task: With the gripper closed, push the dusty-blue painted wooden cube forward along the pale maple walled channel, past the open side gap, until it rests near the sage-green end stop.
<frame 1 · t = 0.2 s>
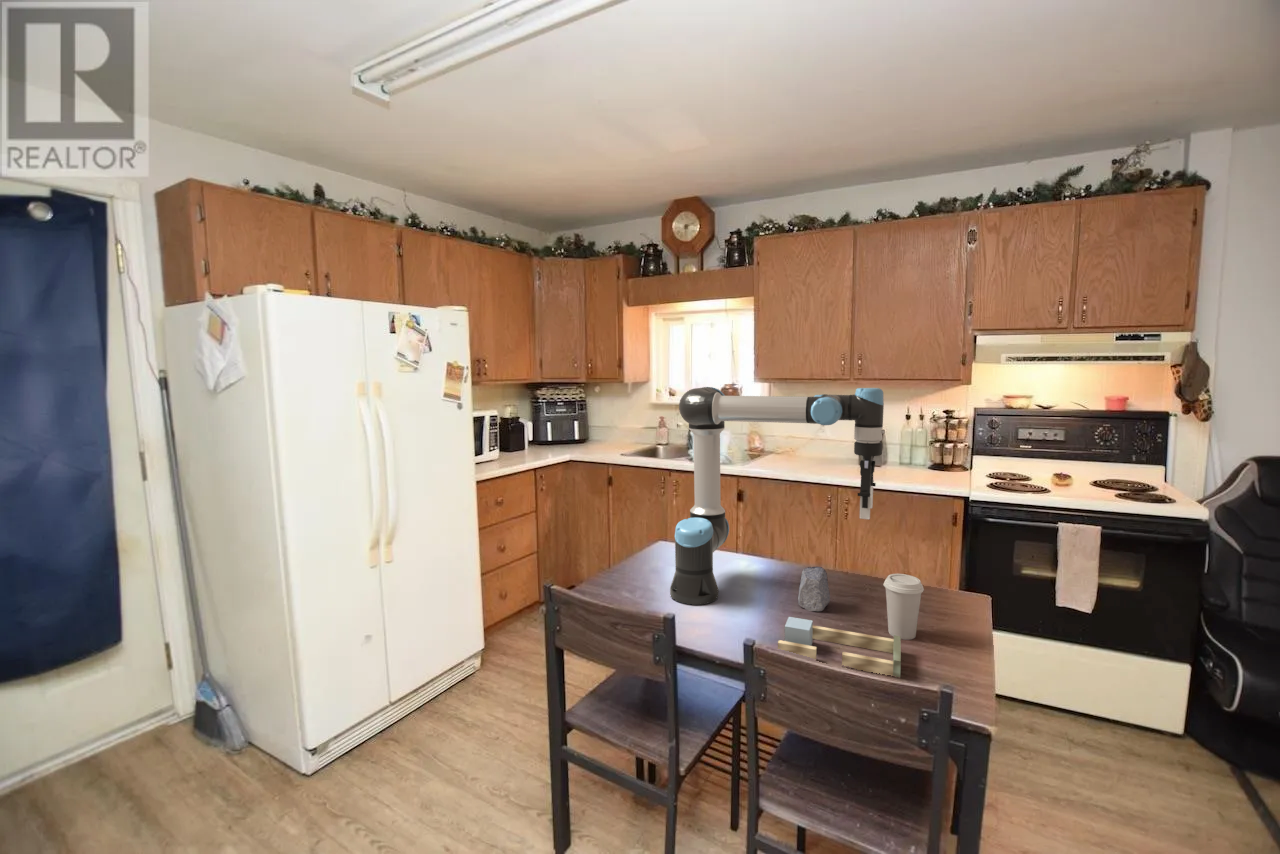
hand: (866, 513, 164), 28 cm above the table, fingers open, 13 cm apart
coffee cup: (901, 634, 148), on the table
stone: (812, 606, 166), on the table
block: (798, 645, 142), on the table
channel: (835, 652, 139), on the table
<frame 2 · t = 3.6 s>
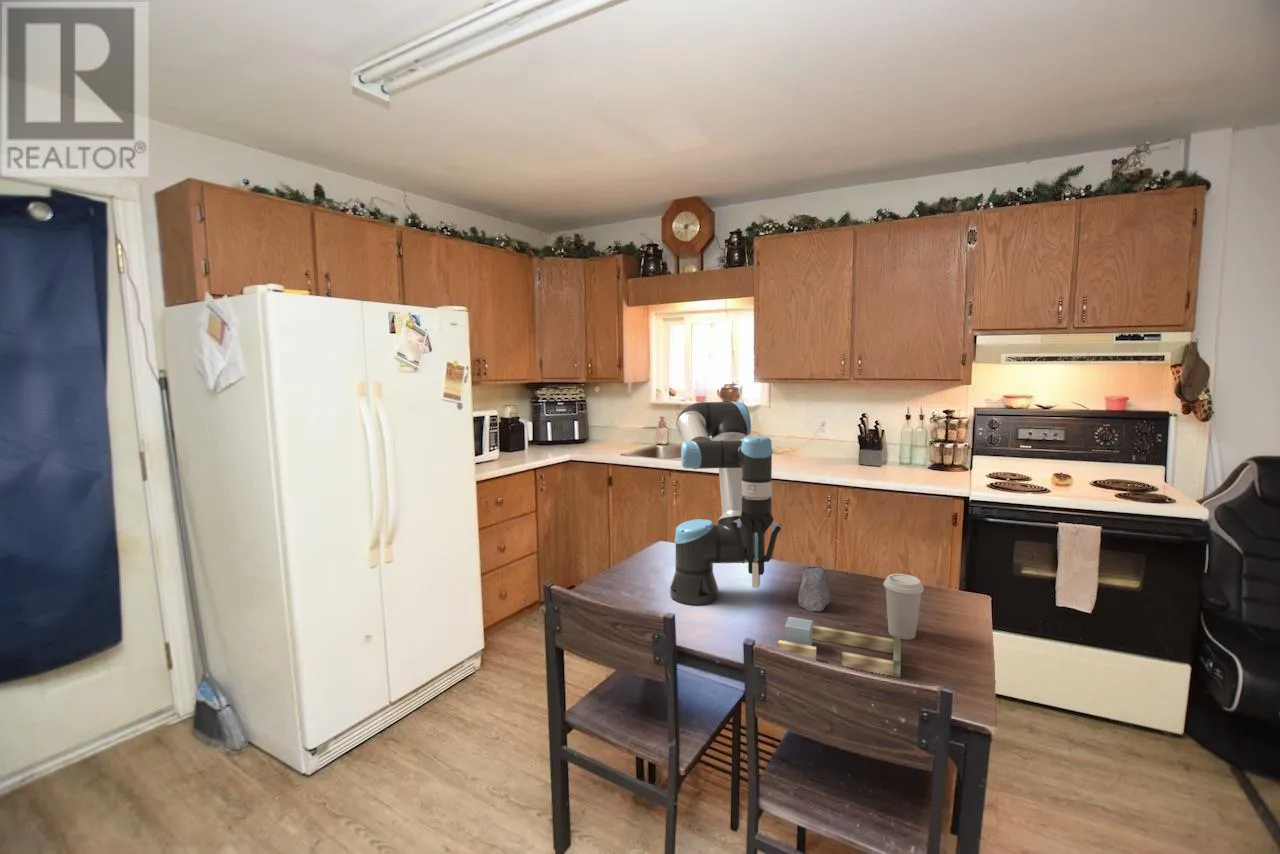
hand: (756, 585, 145), 14 cm above the table, fingers closed
nothing on the table moved.
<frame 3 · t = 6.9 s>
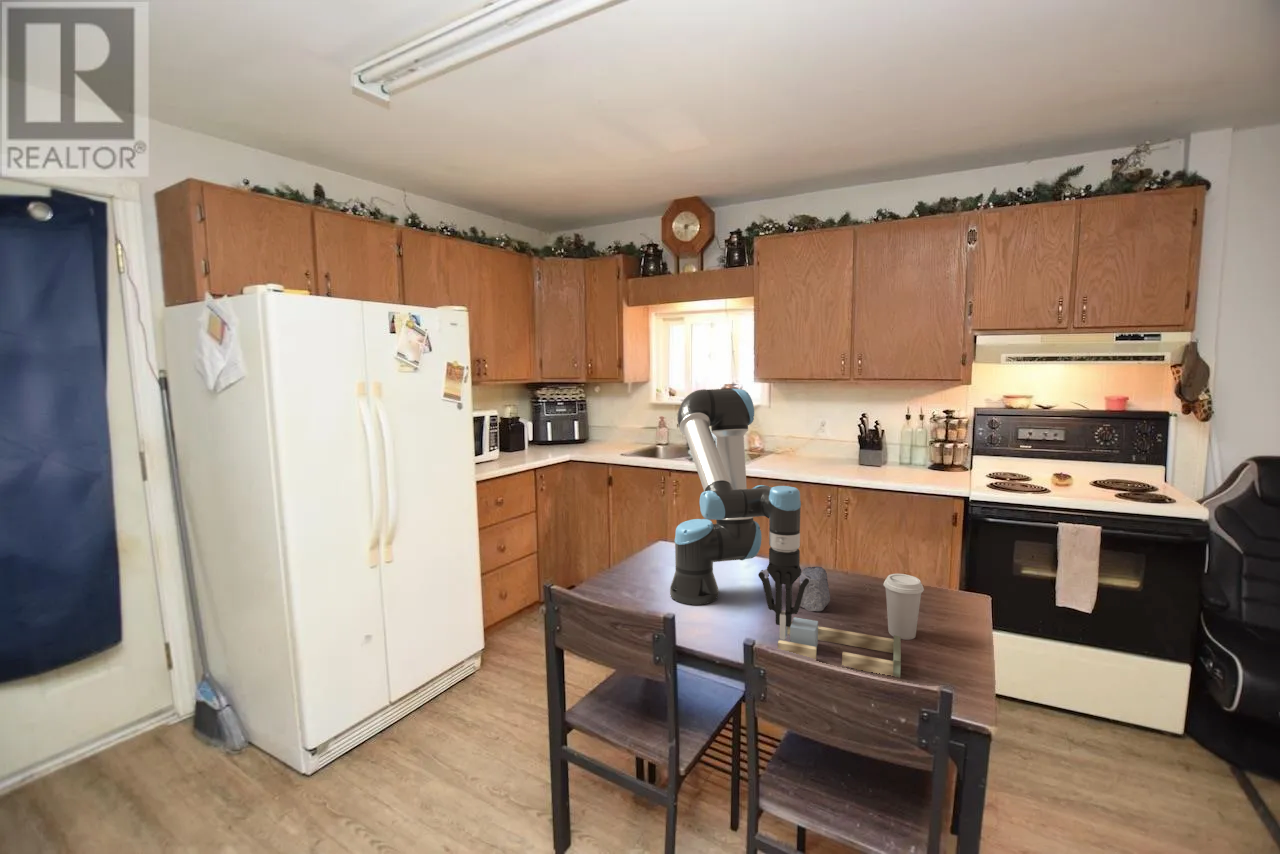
hand: (783, 637, 143), 2 cm above the table, fingers closed
block: (803, 646, 142), on the table, touching gripper
everything else where it was.
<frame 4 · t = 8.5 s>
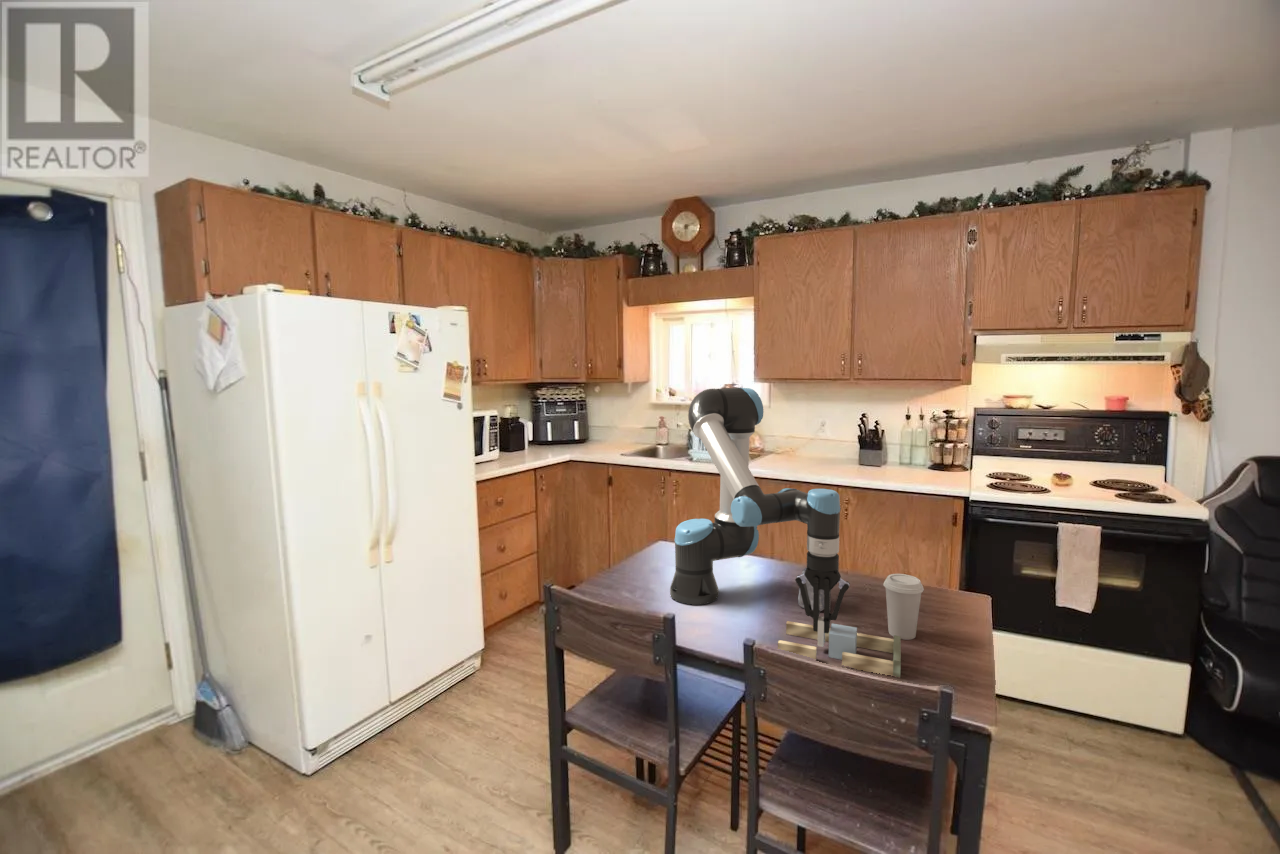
hand: (821, 643, 140), 2 cm above the table, fingers closed
block: (842, 653, 138), on the table, touching gripper
everything else where it was.
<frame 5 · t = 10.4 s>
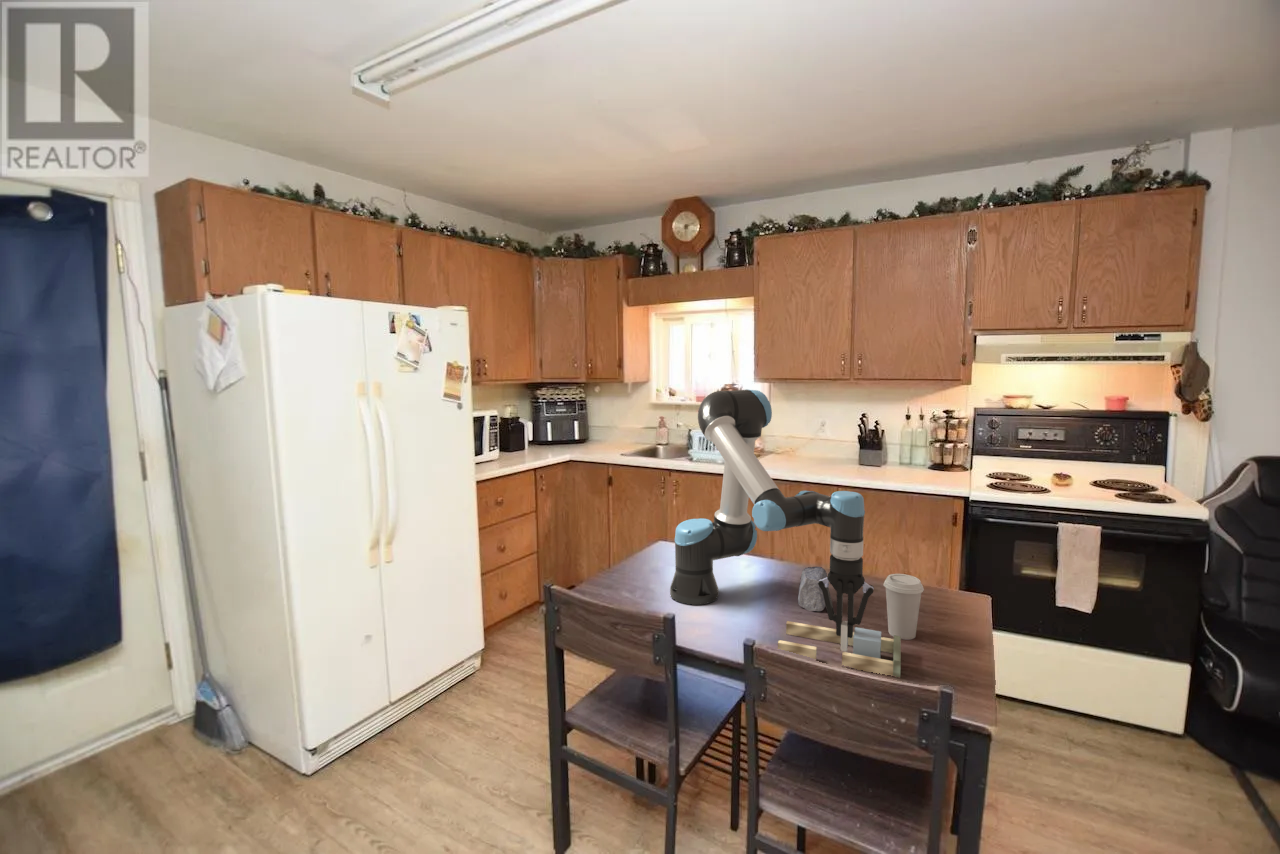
hand: (844, 648, 138), 1 cm above the table, fingers closed
block: (866, 658, 136), on the table, touching gripper
everything else where it was.
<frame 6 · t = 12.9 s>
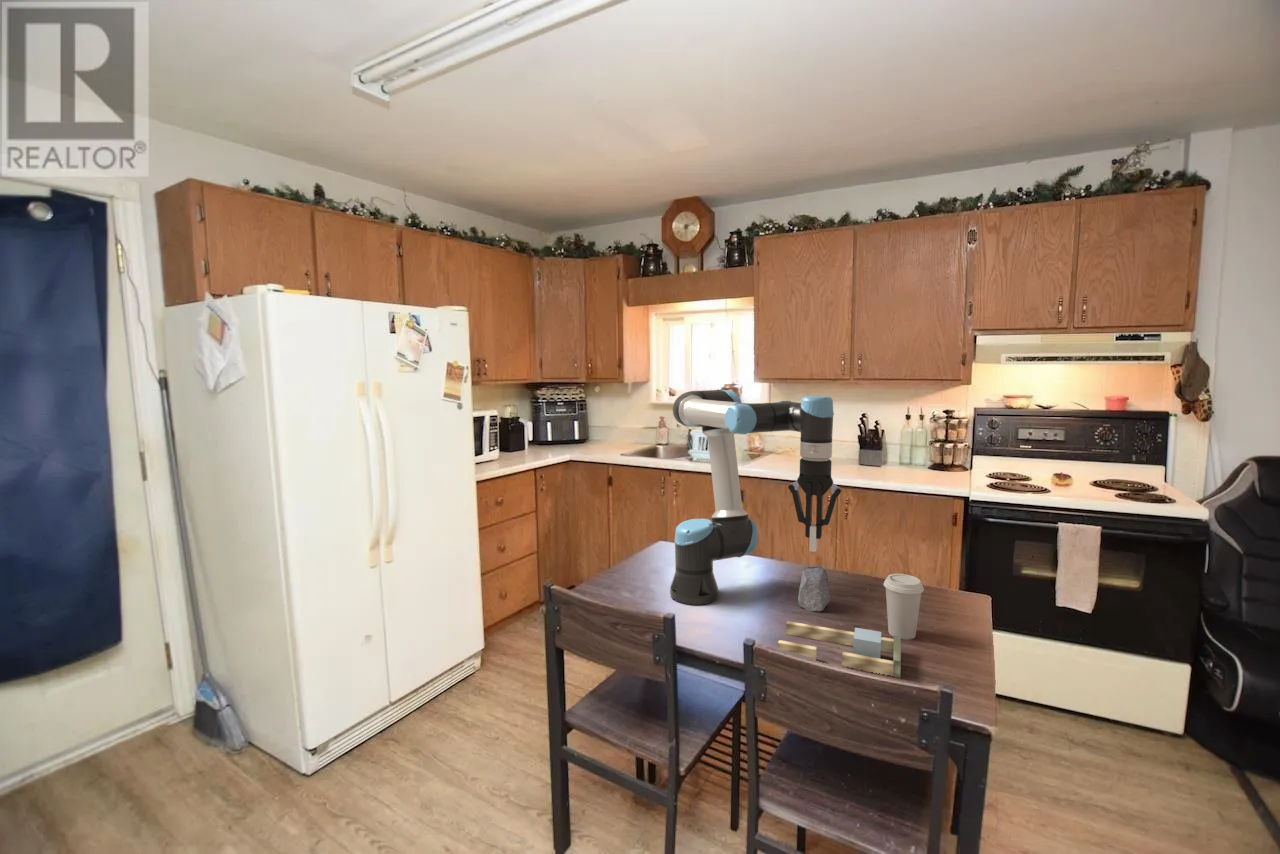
hand: (813, 550, 141), 25 cm above the table, fingers closed
block: (866, 658, 136), on the table
everything else where it was.
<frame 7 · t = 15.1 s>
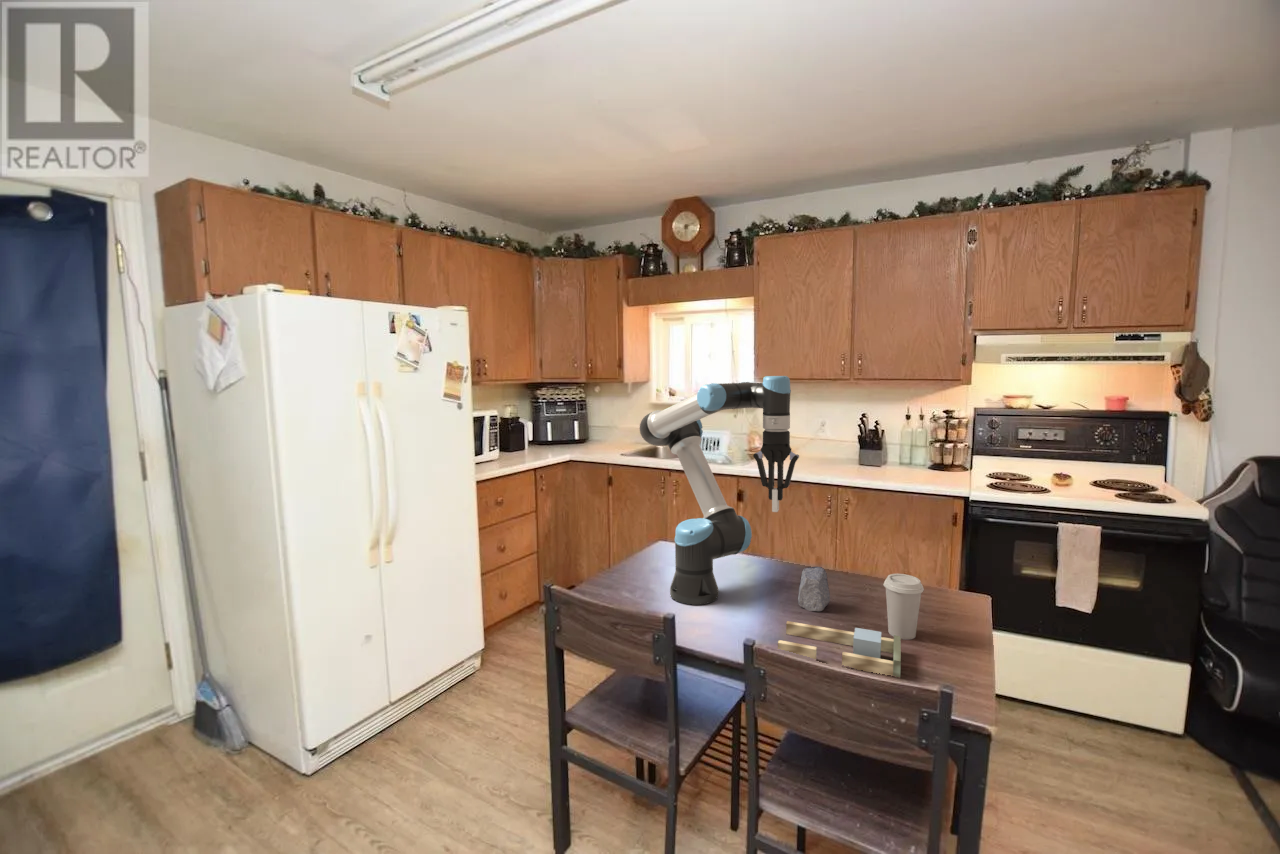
hand: (775, 510, 162), 29 cm above the table, fingers closed
nothing on the table moved.
at the end: block inside the target area on the channel (0.3 cm from its centre), point 0.0 cm above the channel's base; block tilted 0° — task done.
